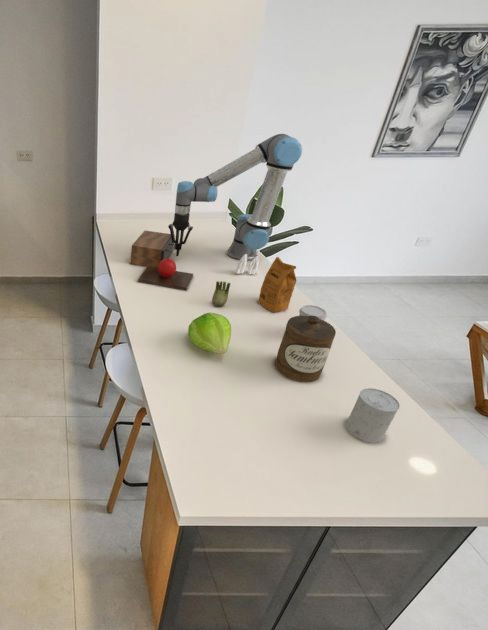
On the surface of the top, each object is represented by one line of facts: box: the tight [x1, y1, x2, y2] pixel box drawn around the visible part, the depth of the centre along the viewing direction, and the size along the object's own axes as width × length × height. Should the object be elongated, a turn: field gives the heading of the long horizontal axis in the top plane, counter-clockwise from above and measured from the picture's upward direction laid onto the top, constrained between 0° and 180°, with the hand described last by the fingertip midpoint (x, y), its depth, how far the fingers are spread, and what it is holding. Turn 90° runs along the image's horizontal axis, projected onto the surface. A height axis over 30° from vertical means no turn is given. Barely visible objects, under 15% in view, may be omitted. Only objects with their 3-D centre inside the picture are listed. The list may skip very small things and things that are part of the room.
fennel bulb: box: [211, 280, 231, 308], centre depth 187 cm, size 6×5×12 cm
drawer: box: [161, 234, 176, 261], centre depth 232 cm, size 20×25×10 cm
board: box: [137, 266, 194, 292], centre depth 213 cm, size 24×17×2 cm
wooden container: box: [274, 315, 336, 383], centre depth 145 cm, size 15×15×22 cm
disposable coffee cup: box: [298, 304, 328, 321], centre depth 165 cm, size 10×10×12 cm
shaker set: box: [235, 254, 260, 276], centre depth 214 cm, size 12×4×11 cm, turn 97°
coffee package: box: [257, 256, 297, 313], centre depth 183 cm, size 10×12×22 cm
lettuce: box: [187, 312, 232, 356], centre depth 159 cm, size 15×20×14 cm
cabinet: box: [130, 230, 171, 268], centre depth 233 cm, size 16×25×11 cm, turn 155°
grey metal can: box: [345, 387, 401, 444], centre depth 122 cm, size 10×10×12 cm
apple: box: [158, 257, 177, 278], centre depth 210 cm, size 9×9×10 cm
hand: (177, 255), depth 229 cm, fingers closed
